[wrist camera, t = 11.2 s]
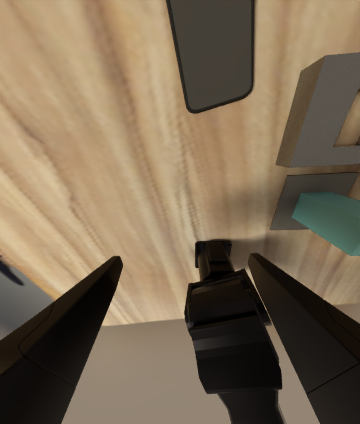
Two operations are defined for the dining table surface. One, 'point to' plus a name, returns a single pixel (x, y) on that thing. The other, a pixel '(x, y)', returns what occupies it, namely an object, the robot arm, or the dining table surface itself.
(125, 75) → the dining table surface
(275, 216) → the dark gray square pad
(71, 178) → the dining table surface
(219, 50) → the smartphone
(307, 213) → the teal square block
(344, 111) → the gray rectangular frame
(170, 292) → the dining table surface
